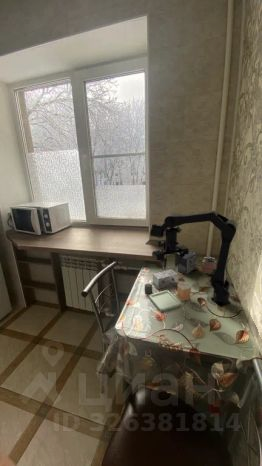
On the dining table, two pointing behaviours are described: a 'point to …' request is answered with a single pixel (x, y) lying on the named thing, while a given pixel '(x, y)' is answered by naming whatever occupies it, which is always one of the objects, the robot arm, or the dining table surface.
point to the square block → (184, 291)
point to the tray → (164, 300)
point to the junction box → (165, 279)
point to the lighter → (208, 265)
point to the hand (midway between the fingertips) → (170, 267)
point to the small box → (187, 263)
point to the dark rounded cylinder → (148, 288)
